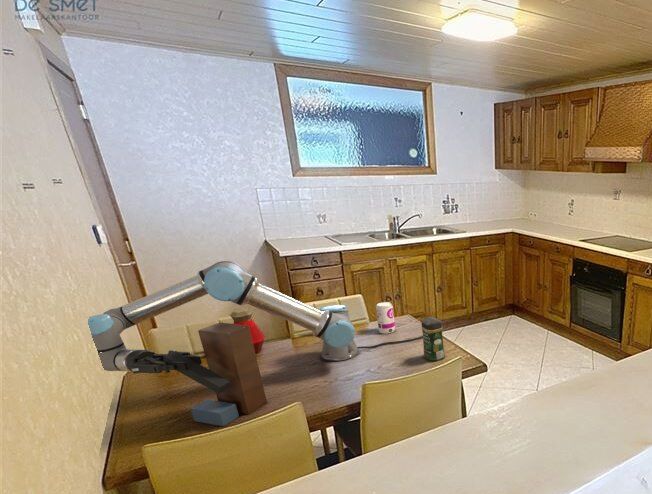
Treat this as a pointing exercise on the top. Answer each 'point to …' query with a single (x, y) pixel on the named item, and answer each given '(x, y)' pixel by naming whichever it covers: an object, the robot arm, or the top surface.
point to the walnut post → (234, 364)
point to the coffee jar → (432, 338)
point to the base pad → (215, 412)
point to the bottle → (244, 318)
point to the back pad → (199, 373)
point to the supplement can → (385, 317)
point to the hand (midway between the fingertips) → (192, 363)
